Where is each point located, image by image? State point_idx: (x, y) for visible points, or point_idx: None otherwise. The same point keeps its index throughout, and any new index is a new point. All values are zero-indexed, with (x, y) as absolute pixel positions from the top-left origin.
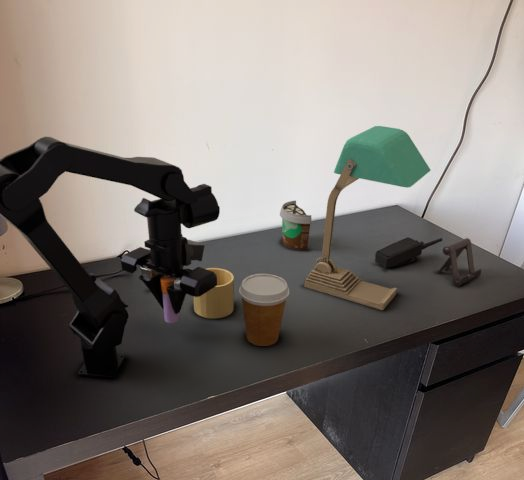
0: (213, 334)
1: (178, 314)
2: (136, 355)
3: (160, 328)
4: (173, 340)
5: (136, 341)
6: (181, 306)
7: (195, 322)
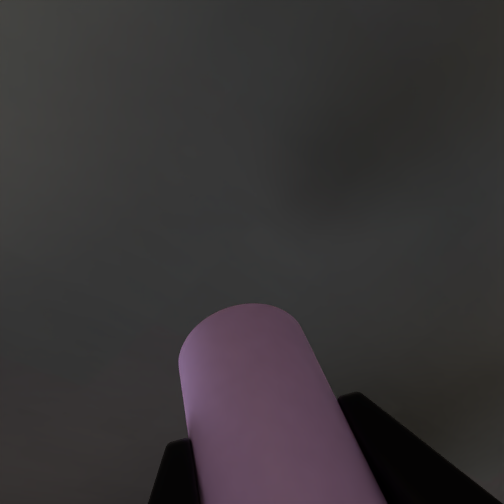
0: (427, 34)
1: (317, 363)
2: None
3: (69, 277)
4: (257, 288)
5: (110, 432)
6: (412, 436)
7: (183, 7)
